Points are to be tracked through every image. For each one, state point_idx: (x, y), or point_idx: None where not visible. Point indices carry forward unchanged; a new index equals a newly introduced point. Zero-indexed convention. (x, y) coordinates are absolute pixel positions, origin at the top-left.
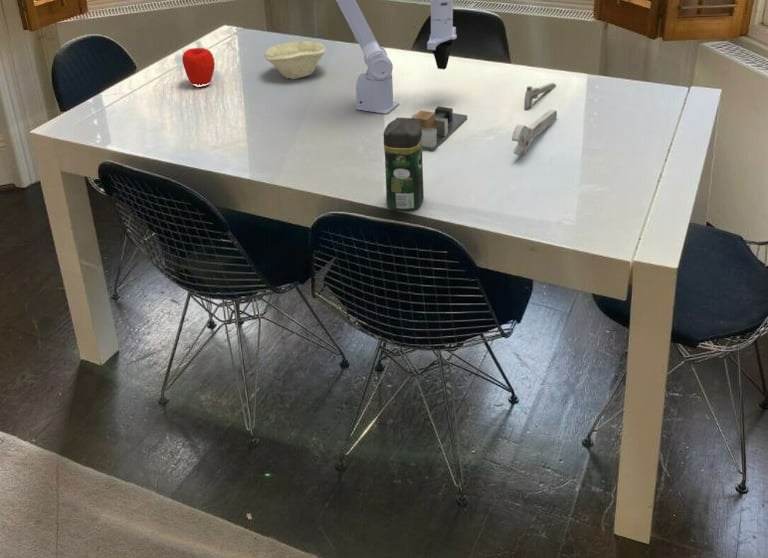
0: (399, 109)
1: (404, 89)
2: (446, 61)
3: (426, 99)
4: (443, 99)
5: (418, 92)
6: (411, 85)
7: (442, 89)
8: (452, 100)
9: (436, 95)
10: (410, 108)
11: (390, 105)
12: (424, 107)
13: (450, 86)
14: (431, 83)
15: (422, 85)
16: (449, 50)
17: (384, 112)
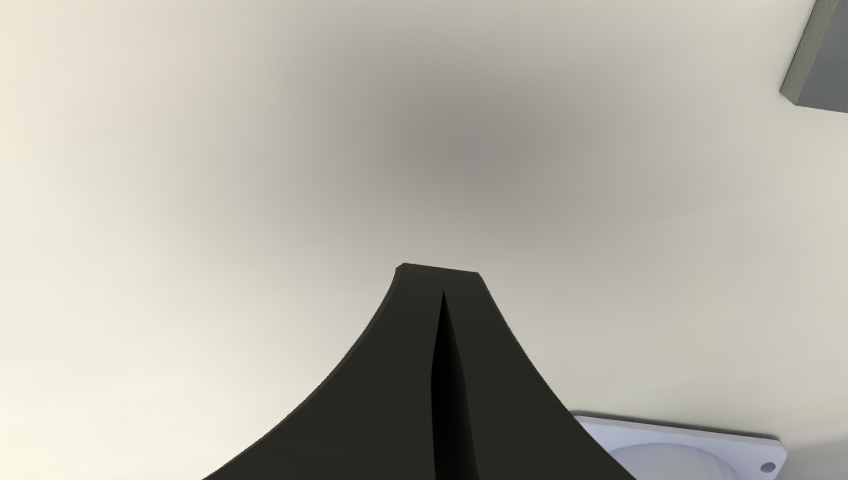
0: (669, 387)
1: (249, 445)
2: (467, 330)
3: (414, 256)
4: (376, 115)
5: (275, 348)
6: (149, 423)
7: (129, 187)
8: (380, 20)
9: (294, 201)
10: (641, 322)
11: (701, 463)
12: (607, 227)
13: (20, 135)
14: (35, 305)
15: (113, 356)
16: (421, 460)
17: (784, 461)
